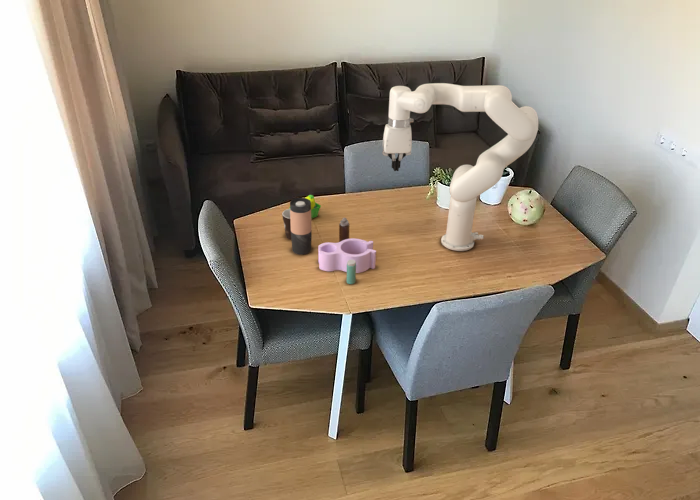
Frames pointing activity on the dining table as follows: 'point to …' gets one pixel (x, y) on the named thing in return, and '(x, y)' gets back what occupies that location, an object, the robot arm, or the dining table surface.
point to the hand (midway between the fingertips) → (395, 169)
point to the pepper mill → (343, 230)
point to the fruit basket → (313, 206)
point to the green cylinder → (351, 272)
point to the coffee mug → (287, 223)
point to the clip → (346, 255)
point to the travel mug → (301, 225)
